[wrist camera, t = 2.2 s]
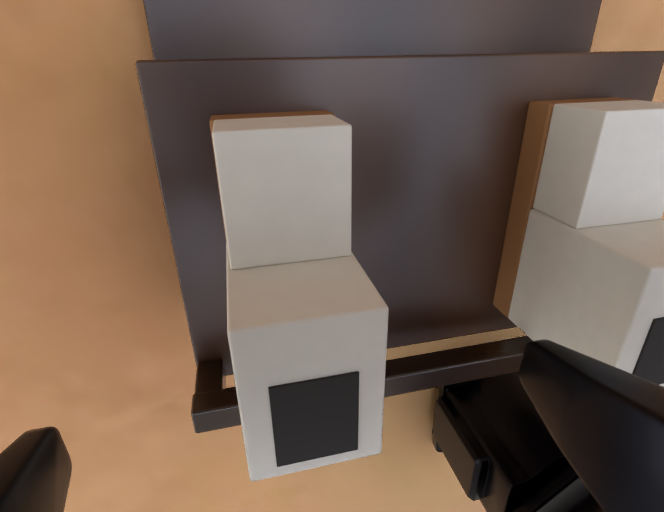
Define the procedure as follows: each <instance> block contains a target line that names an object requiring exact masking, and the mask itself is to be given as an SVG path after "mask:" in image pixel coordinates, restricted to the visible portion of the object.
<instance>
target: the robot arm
mask: <svg viewBox="0 0 664 512" xmlns="http://www.w3.org/2000/svg"><path fill="white" fill-rule="evenodd" d="M432 433H433V435H434V436H433V445H434V447H435V449H436V450H437V451H438V452H443V453H444V455H445V457H446V459H447V461H448V462H449V464H450V466H451V468H452V470H453V471H454V473H455V475H456V477H457V479H458V480H459V482H460V484H461V486H462V488H463V489H464V491H465V493H466V495H467V496H468V497H469V498H470V499H471V500H473V501H475V500H479V499H480V501H481V503H482V505H483V506H484V508H485V510H486V512H664V387H663V386H661V385H658V384H656V383H653V382H651V381H648V380H646V379H643V378H641V377H639V376H636V375H634V374H631V373H629V372H626V371H624V370H621V369H619V368H616V367H614V366H611V365H609V364H607V363H604V362H602V361H599V360H597V359H594V358H592V357H589V356H587V355H584V354H582V353H579V352H577V351H575V350H572V349H570V348H567V347H565V346H562V345H560V344H557V343H555V342H552V341H550V340H546V339H542V340H536V341H531V342H528V343H527V344H526V345H525V347H524V351H523V356H522V360H521V365H520V369H519V371H518V372H513V373H508V374H503V375H497V376H492V377H487V378H482V379H477V380H471V381H466V382H461V383H456V384H451V385H445V386H440V389H439V397H438V399H437V401H436V407H435V415H434V422H433V430H432ZM71 470H72V464H71V459H70V456H69V454H68V451H67V449H66V446H65V444H64V442H63V439H62V437H61V435H60V432H59V431H58V429H57V428H55V427H44V428H39V429H33V430H29V431H27V432H25V433H24V434H22V435H21V436H20V437H19V438H18V439H16V440H15V441H14V442H13V443H12V444H11V445H10V446H8V447H7V448H6V449H5V450H4V451H3V452H2V453H0V512H64V507H65V502H66V497H67V492H68V487H69V482H70V477H71Z"/></svg>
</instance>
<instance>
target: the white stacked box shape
mask: <svg viewBox="0 0 664 512" xmlns="http://www.w3.org/2000/svg"><path fill="white" fill-rule="evenodd" d="M209 123H210V130H211V137H212V144H213V151H214V159H215V166H216V173H217V180H218V187H219V194H220V202H221V209H222V216H223V223H224V230H225V238H226V274H227V334H228V341H229V347H230V354H231V360H232V367H233V373H234V380H235V386H236V393H237V399H238V406H239V412H240V418H241V425H242V431H243V438H244V444H245V451H246V457H247V464H248V470H249V477H250V480H251V481H258V480H262V479H267V478H271V477H276V476H280V475H285V474H289V473H294V472H298V471H303V470H307V469H312V468H316V467H321V466H325V465H330V464H335V463H339V462H344V461H348V460H353V459H357V458H362V457H366V456H371V455H375V454H379V453H381V447H382V427H383V408H384V389H385V370H386V351H387V331H388V312H389V308H388V306H387V305H386V303H385V302H384V300H383V299H382V297H381V296H380V294H379V293H378V291H377V290H376V288H375V286H374V285H373V283H372V282H371V280H370V279H369V277H368V276H367V274H366V273H365V271H364V270H363V268H362V267H361V265H360V264H359V262H358V261H357V259H356V258H355V256H354V255H353V253H352V252H351V195H352V126H351V125H350V124H348V123H346V122H344V121H343V120H341V119H339V118H337V117H336V116H335V114H333V113H331V112H329V111H327V110H318V111H295V112H273V113H250V114H228V115H212V116H211V118H210V122H209Z"/></svg>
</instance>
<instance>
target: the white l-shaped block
mask: <svg viewBox="0 0 664 512" xmlns="http://www.w3.org/2000/svg"><path fill="white" fill-rule="evenodd" d="M663 212H664V103H663V102H653V101H643V100H637V99H628V98H618V97H608V98H586V99H563V100H541V101H530V102H529V107H528V112H527V118H526V123H525V129H524V134H523V140H522V145H521V151H520V156H519V162H518V168H517V173H516V179H515V184H514V190H513V195H512V201H511V206H510V212H509V217H508V223H507V228H506V234H505V239H504V245H503V250H502V256H501V261H500V267H499V272H498V278H497V283H496V289H495V294H494V300H493V305H494V306H495V307H496V308H497V309H498V310H499V311H500V312H501V313H503V314H504V315H505V316H506V317H508V318H509V319H510V320H511V321H512V322H513V323H514V324H515V325H516V326H517V327H518V328H520V329H521V330H522V331H523V332H524V333H525V334H526V335H527V336H528V337H529V338H530V339H532V340H533V341H536V340H542V339H546V340H550V341H552V342H555V343H557V344H560V345H562V346H565V347H567V348H570V349H572V350H575V351H577V352H579V353H582V354H584V355H587V356H589V357H592V358H594V359H597V360H599V361H602V362H604V363H607V364H609V365H611V366H614V367H616V368H619V369H621V370H624V371H626V372H629V373H631V374H634V375H636V376H639V377H641V378H643V379H646V380H648V381H651V382H653V383H656V384H658V385H661V386H663V387H664V220H662V219H661V217H662V215H663Z"/></svg>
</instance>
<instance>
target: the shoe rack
mask: <svg viewBox="0 0 664 512" xmlns="http://www.w3.org/2000/svg"><path fill="white" fill-rule="evenodd" d="M601 1H602V0H143V3H144V8H145V14H146V19H147V25H148V30H149V36H150V41H151V46H152V52H153V57H154V60H138V61H136V63H135V64H136V69H137V74H138V79H139V84H140V89H141V94H142V99H143V104H144V109H145V114H146V119H147V124H148V129H149V134H150V139H151V143H152V148H153V153H154V158H155V163H156V168H157V173H158V178H159V183H160V188H161V193H162V198H163V203H164V208H165V213H166V218H167V222H168V227H169V232H170V237H171V242H172V247H173V252H174V257H175V262H176V267H177V272H178V277H179V282H180V287H181V292H182V297H183V301H184V306H185V311H186V316H187V321H188V326H189V331H190V336H191V341H192V346H193V351H194V356H195V361H196V366H197V372H196V384H195V394H194V395H193V398H192V409H191V416H192V420H193V425H194V429H195V432H196V433H201V432H207V431H212V430H217V429H222V428H227V427H233V426H238V425H241V418H240V412H239V406H238V399H237V393H236V387H231V388H226V376H227V375H233V374H234V373H233V367H232V360H231V354H230V347H229V341H228V334H227V274H226V238H225V230H224V223H223V216H222V209H221V202H220V194H219V187H218V180H217V173H216V166H215V159H214V151H213V144H212V137H211V130H210V123H209V122H210V118H211V116H212V115H228V114H250V113H273V112H295V111H318V110H327V111H329V112H331V113H333V114H335V116H336V117H337V118H339V119H341V120H343V121H344V122H346V123H348V124H350V125H351V126H352V195H351V252H352V253H353V255H354V256H355V258H356V259H357V261H358V262H359V264H360V265H361V267H362V268H363V270H364V271H365V273H366V274H367V276H368V277H369V279H370V280H371V282H372V283H373V285H374V286H375V288H376V290H377V291H378V293H379V294H380V296H381V297H382V299H383V300H384V302H385V303H386V305H387V306H388V308H389V312H388V331H387V349H388V348H394V347H400V346H405V345H411V344H417V343H423V342H429V341H435V340H441V339H447V338H453V337H459V336H465V335H471V334H477V333H483V332H489V331H495V330H501V329H507V328H513V327H517V326H516V325H515V324H514V323H513V322H512V321H511V320H510V319H509V318H508V317H506V316H505V315H504V314H503V313H501V312H500V311H499V310H498V309H497V308H496V307H495V306H494V305H493V300H494V294H495V289H496V283H497V278H498V272H499V267H500V261H501V256H502V250H503V245H504V239H505V234H506V228H507V223H508V217H509V212H510V206H511V201H512V195H513V190H514V184H515V179H516V173H517V168H518V162H519V156H520V151H521V145H522V140H523V134H524V129H525V123H526V118H527V112H528V107H529V102H530V101H541V100H563V99H586V98H608V97H618V98H628V99H637V100H643V101H652V99H653V96H654V93H655V89H656V86H657V83H658V79H659V76H660V73H661V69H662V66H663V63H664V51H618V52H590V49H591V45H592V40H593V36H594V32H595V27H596V23H597V18H598V14H599V10H600V5H601ZM531 341H533V340H532V339H530V338H529V337H528V336H524V337H518V338H513V339H507V340H501V341H496V342H490V343H484V344H478V345H473V346H467V347H461V348H455V349H450V350H444V351H438V352H432V353H427V354H421V355H415V356H409V357H404V358H398V359H392V360H386V370H385V389H384V397H388V396H394V395H399V394H404V393H409V392H414V391H419V390H425V389H430V388H435V387H440V386H445V385H451V384H456V383H461V382H466V381H471V380H477V379H482V378H487V377H492V376H497V375H503V374H508V373H513V372H518V371H519V369H520V365H521V360H522V356H523V351H524V347H525V345H526V344H527V343H528V342H531Z"/></svg>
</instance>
